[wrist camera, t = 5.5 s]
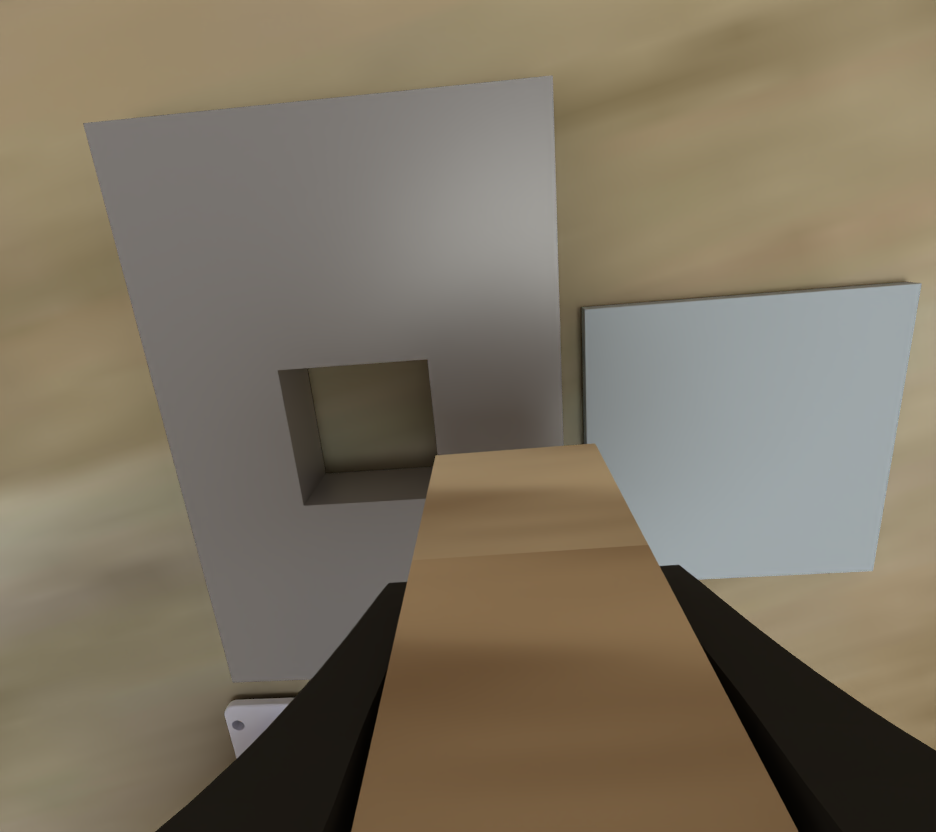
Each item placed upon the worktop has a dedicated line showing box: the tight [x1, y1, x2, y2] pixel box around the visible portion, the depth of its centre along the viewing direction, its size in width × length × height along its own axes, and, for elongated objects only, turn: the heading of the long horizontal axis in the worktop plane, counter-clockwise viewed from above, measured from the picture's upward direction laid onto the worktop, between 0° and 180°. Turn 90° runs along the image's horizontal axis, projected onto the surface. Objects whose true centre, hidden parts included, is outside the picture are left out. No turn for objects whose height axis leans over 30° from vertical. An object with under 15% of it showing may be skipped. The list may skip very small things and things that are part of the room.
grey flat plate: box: [83, 76, 564, 682], centre depth 18 cm, size 18×12×2 cm, turn 5°
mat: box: [582, 282, 921, 579], centre depth 19 cm, size 10×10×1 cm
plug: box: [351, 443, 798, 832], centre depth 8 cm, size 3×3×8 cm
